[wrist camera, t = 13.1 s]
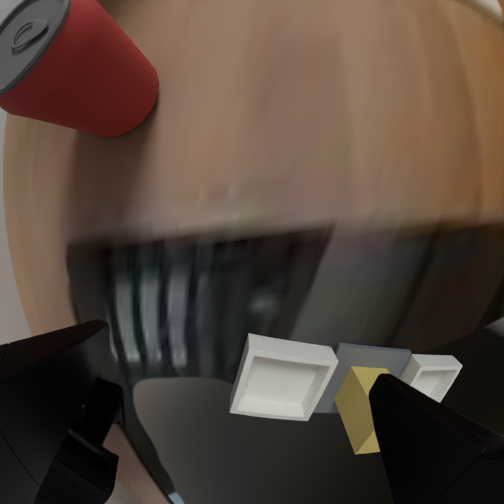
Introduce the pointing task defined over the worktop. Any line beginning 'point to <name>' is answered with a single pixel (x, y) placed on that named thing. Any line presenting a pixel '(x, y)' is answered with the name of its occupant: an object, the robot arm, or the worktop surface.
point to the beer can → (73, 68)
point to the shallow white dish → (281, 378)
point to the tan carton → (358, 408)
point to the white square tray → (430, 374)
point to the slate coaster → (359, 358)
